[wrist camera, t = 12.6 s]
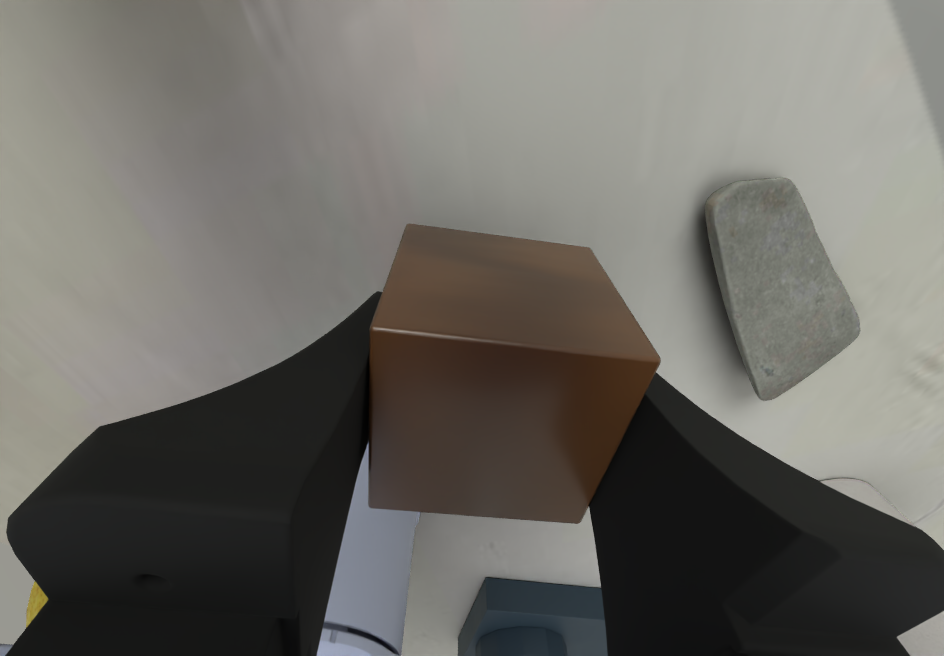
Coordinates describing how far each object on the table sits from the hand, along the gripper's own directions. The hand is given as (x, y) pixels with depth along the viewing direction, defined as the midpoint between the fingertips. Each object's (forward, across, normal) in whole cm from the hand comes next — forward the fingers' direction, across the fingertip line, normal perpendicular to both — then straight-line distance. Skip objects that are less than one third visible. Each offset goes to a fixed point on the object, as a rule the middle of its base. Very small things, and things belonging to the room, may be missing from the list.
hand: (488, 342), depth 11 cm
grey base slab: (+6, -13, +31) cm, 34 cm away
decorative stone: (+6, -13, -3) cm, 15 cm away
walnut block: (+1, 0, 0) cm, 1 cm away
